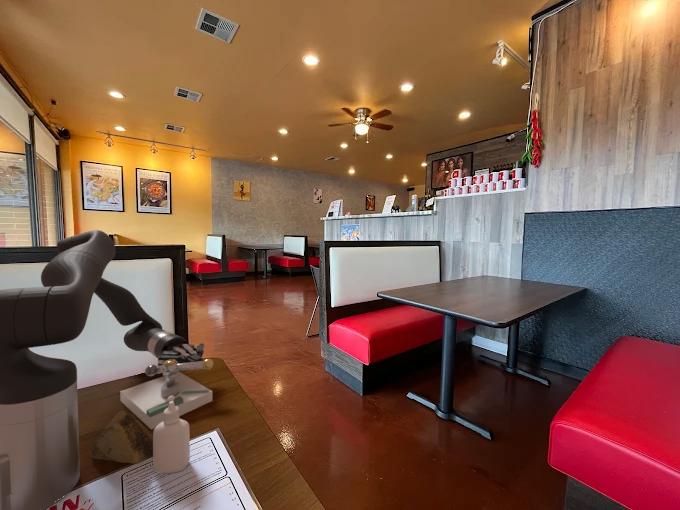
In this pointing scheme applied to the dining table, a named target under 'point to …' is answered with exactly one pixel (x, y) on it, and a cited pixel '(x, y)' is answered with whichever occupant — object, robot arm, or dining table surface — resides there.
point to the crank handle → (176, 369)
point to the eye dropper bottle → (171, 442)
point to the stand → (164, 398)
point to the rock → (123, 441)
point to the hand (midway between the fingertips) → (199, 363)
